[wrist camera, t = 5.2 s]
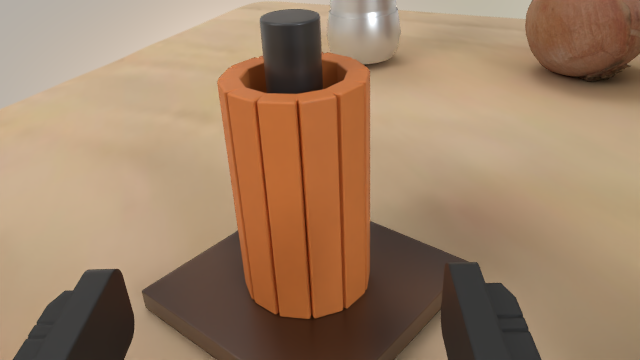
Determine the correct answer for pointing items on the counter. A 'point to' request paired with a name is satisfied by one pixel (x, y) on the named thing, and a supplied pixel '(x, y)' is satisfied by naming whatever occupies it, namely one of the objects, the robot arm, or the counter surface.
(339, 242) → the orange grooved tube
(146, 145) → the counter surface
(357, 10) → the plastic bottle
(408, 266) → the stand
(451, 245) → the counter surface
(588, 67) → the onion
